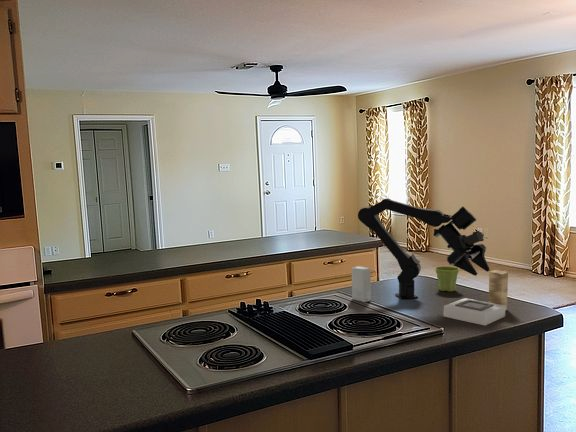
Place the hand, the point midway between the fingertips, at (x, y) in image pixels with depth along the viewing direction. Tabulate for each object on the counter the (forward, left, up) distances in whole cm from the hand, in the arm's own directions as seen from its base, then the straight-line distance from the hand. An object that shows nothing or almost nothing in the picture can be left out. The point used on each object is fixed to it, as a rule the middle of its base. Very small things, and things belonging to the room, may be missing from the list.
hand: (482, 272), depth 177 cm
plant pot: (-25, +1, -12) cm, 28 cm away
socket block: (+10, -9, -12) cm, 18 cm away
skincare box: (-19, -37, -12) cm, 44 cm away
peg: (+5, +3, -12) cm, 13 cm away
